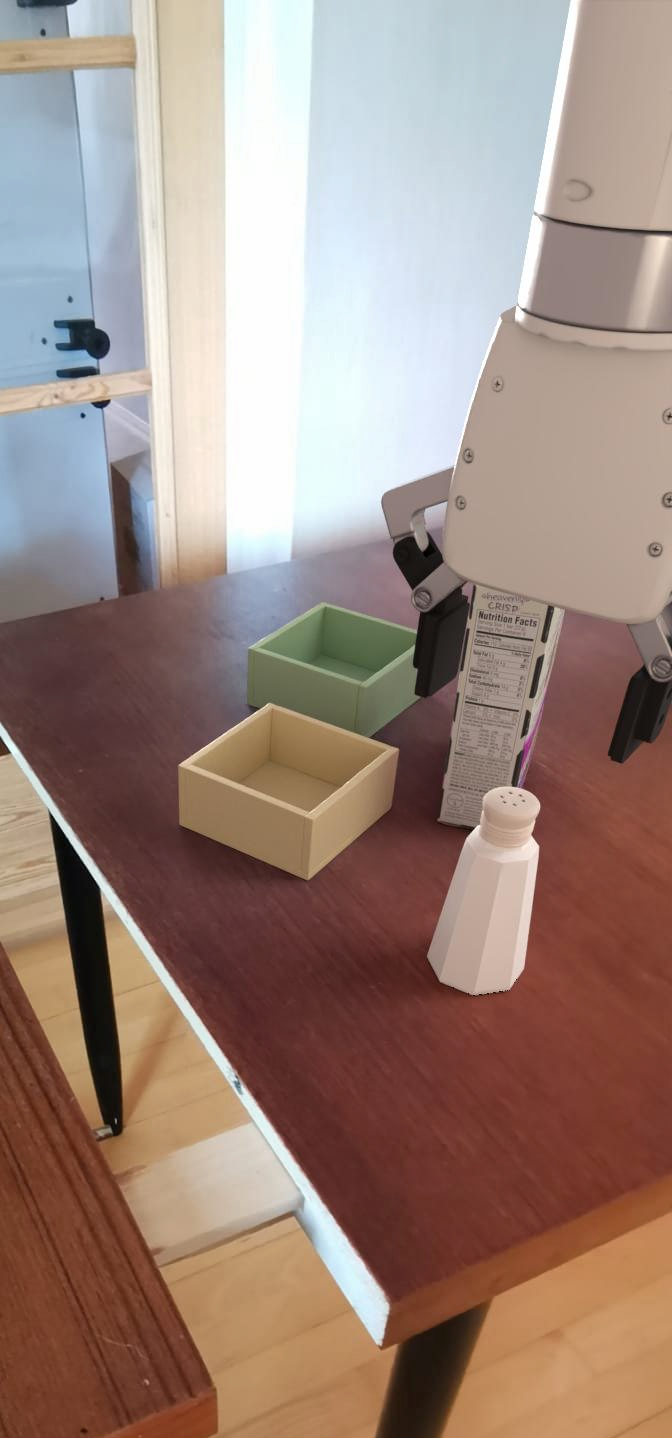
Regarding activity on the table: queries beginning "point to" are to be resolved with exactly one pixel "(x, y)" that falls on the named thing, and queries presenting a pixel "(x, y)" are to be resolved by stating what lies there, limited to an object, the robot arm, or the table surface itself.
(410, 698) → the green bin
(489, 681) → the candy bar box
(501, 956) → the pepper shaker
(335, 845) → the cream bin
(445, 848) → the table surface
